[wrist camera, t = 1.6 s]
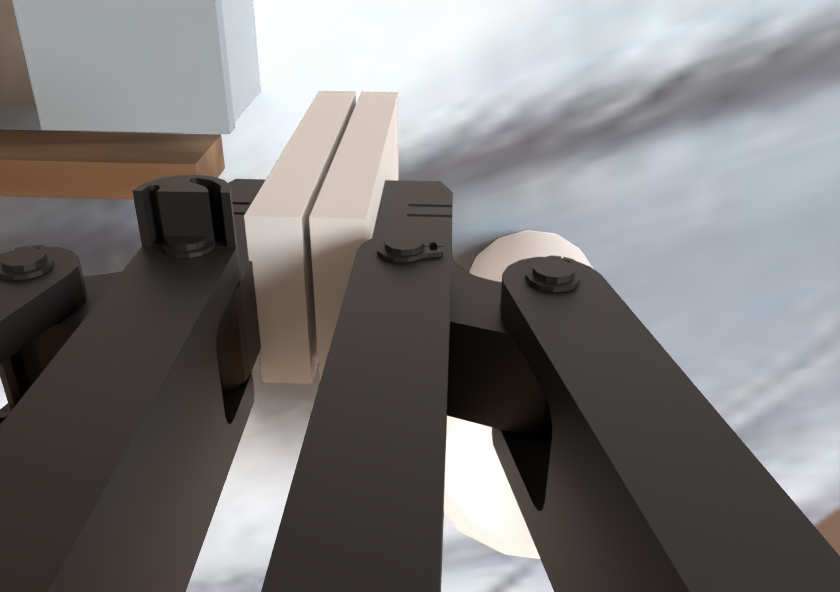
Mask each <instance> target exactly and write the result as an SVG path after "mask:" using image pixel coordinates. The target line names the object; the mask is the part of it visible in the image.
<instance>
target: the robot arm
mask: <svg viewBox="0 0 840 592" xmlns="http://www.w3.org/2000/svg"><path fill="white" fill-rule="evenodd" d="M132 192H133V197H134V203H135V208H136V214H137V220H138V225H139V231H140V236H141V242H142V247H141V248H140V250H139V251H138V252H137V253H136V255H135V256H134V257H133V259H132V260H131V261H130V262H129V264H128V265H127V266H126V267H125V269H124V270H123V271H122V272H117V273H109V274H101V275H93V276H85V277H83V274H82V269H81V265H80V260H79V257H78V256H77V255H76V254H75V253H74V252H73V251H70V250H67V249H63V248H60V247H44V246H43V245H33V246H31V248H29V246H25V247H19V248H16V249H15V250H14V251H11V252H7V253H3V254H0V377H1V381H2V384H3V387H4V391H5V394H6V397H7V400H8V404H6V405H5V406H4V407H3V408H2V409H0V592H186V589H187V586H188V583H189V581H190V578H191V575H192V572H193V570H194V567H195V564H196V561H197V558H198V556H199V553H200V550H201V547H202V545H203V542H204V539H205V536H206V533H207V531H208V528H209V525H210V522H211V519H212V517H213V514H214V511H215V508H216V506H217V503H218V500H219V497H220V494H221V492H222V489H223V486H224V483H225V481H226V478H227V475H228V472H229V469H230V467H231V464H232V461H233V458H234V456H235V453H236V450H237V447H238V444H239V442H240V439H241V436H242V433H243V431H244V428H245V425H246V422H247V419H248V417H249V414H250V411H251V408H252V406H253V403H254V386H253V377H252V369H253V366H254V364H255V361H256V359H257V356H258V354H259V359H260V369H261V378H262V383H288V384H312V382H313V378H314V375H315V371H316V367H317V364H318V363H319V378H320V384H319V387H318V391H317V395H316V398H315V402H314V405H313V409H312V412H311V416H310V419H309V423H308V427H307V430H306V434H305V437H304V441H303V444H302V448H301V452H300V455H299V459H298V462H297V466H296V469H295V473H294V476H293V480H292V484H291V487H290V491H289V494H288V498H287V501H286V505H285V509H284V512H283V516H282V519H281V523H280V526H279V530H278V534H277V537H276V541H275V544H274V548H273V551H272V555H271V558H270V562H269V566H268V569H267V573H266V576H265V580H264V583H263V587H262V591H261V592H441V575H442V547H443V518H444V489H445V460H446V434H447V416H450V417H454V418H458V419H462V420H466V421H469V422H473V423H477V424H481V425H485V426H489V427H492V441H493V446H494V449H495V451H496V453H497V456H498V458H499V460H500V463H501V465H502V468H503V470H504V472H505V475H506V477H507V480H508V482H509V484H510V487H511V489H512V492H513V494H514V496H515V499H516V501H517V504H518V506H519V508H520V511H521V513H522V516H523V518H524V520H525V523H526V525H527V528H528V530H529V532H530V535H531V537H532V540H533V542H534V544H535V547H536V549H537V551H538V554H539V556H540V559H541V561H542V563H543V566H544V568H545V571H546V573H547V575H548V578H549V580H550V583H551V585H552V587H553V590H554V592H840V556H839V555H838V554H837V553H836V551H835V550H834V549H833V548H832V547H831V546H830V544H829V543H828V542H827V541H826V540H825V538H824V537H823V536H822V535H821V534H820V533H819V531H818V530H817V529H816V528H815V527H814V525H813V524H812V523H811V522H810V521H809V519H808V518H807V517H806V516H805V515H804V514H803V512H802V511H801V510H800V509H799V508H798V506H797V505H796V504H795V503H794V502H793V501H792V499H791V498H790V497H789V496H788V495H787V493H786V492H785V491H784V490H783V489H782V488H781V486H780V485H779V484H778V483H777V482H776V480H775V479H774V478H773V477H772V476H771V475H770V473H769V472H768V471H767V470H766V469H765V468H764V466H763V465H762V464H761V463H760V462H759V460H758V459H757V458H756V457H755V456H754V455H753V453H752V452H751V451H750V450H749V449H748V447H747V446H746V445H745V444H744V443H743V442H742V440H741V439H740V438H739V437H738V436H737V434H736V433H735V432H734V431H733V430H732V429H731V427H730V426H729V425H728V424H727V423H726V422H725V420H724V419H723V418H722V417H721V416H720V414H719V413H718V412H717V411H716V410H715V409H714V407H713V406H712V405H711V404H710V403H709V401H708V400H707V399H706V398H705V397H704V396H703V394H702V393H701V392H700V391H699V390H698V388H697V387H696V386H695V385H694V384H693V383H692V381H691V380H690V379H689V378H688V377H687V375H686V374H685V373H684V372H683V371H682V370H681V368H680V367H679V366H678V365H677V364H676V363H675V361H674V360H673V359H672V358H671V357H670V355H669V354H668V353H667V352H666V351H665V350H664V348H663V347H662V346H661V345H660V344H659V342H658V341H657V340H656V339H655V338H654V337H653V335H652V334H651V333H650V332H649V331H648V329H647V328H646V327H645V326H644V325H643V324H642V322H641V321H640V320H639V319H638V318H637V317H636V315H635V314H634V313H633V312H632V311H631V309H630V308H629V307H628V306H627V305H626V304H625V302H624V301H623V300H622V299H621V298H620V296H619V295H618V294H617V293H616V292H615V291H614V289H613V288H612V287H611V286H610V285H609V283H608V282H607V281H606V280H605V279H604V278H603V276H602V275H601V274H599V273H598V272H597V271H595V270H594V269H593V268H592V267H590V266H588V265H585V264H582V263H580V262H577V261H575V260H574V259H571V258H567V257H563V258H561V256H553V255H551V256H547V257H533V258H527V259H522V260H519V261H517V262H515V263H513V264H511V265H509V266H508V267H507V268H506V269H505V271H504V272H503V273H502V282H498V281H493V280H489V279H485V278H481V277H478V276H475V275H473V274H470V273H468V272H466V271H465V270H463V269H462V268H460V267H459V266H458V265H457V264H456V263H455V262H454V261H453V257H452V195H453V193H452V192H451V191H450V190H449V189H448V188H447V187H446V186H445V185H444V184H443V183H442V182H441V181H398V93H396V92H361V94H360V96H359V99H358V101H357V104H356V92H344V91H319V92H318V94H317V95H316V97H315V99H314V100H313V102H312V104H311V105H310V107H309V109H308V110H307V112H306V114H305V115H304V117H303V119H302V120H301V122H300V124H299V125H298V127H297V129H296V130H295V132H294V134H293V135H292V137H291V139H290V140H289V142H288V144H287V145H286V147H285V149H284V150H283V152H282V154H281V155H280V157H279V159H278V160H277V162H276V164H275V165H274V167H273V169H272V170H271V172H270V174H269V175H268V177H267V179H266V180H257V179H235V180H233V181H231V182H229V183H227V182H226V181H225V180H222V179H219V178H216V177H213V176H204V175H176V176H170V177H165V178H159V179H156V180H153V181H150V182H147V183H144V184H142V185H140V186H139V187H137V188H136V189H134V190H133V191H132Z"/></svg>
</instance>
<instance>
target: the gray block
mask: <svg viewBox="0 0 840 592" xmlns="http://www.w3.org/2000/svg"><path fill="white" fill-rule="evenodd" d="M12 3H13V7H14V11H15V16H16V20H17V25H18V29H19V33H20V38H21V42H22V46H23V51H24V55H25V60H26V64H27V68H28V73H29V77H30V81H31V86H32V90H33V95H34V99H35V103H36V108H37V112H38V116H39V121H40V125H41V130H66V131H113V132H160V133H207V134H230V133H231V132H232V131H233V130H234V128H235V123H234V122H235V121H236V120H237V119H238V118H239V116H240V115H241V114H242V113H243V112H244V111H245V109H246V108H247V107H248V106H249V105H250V103H251V102H252V101H253V100H254V99H255V98H256V96H257V95H258V94H259V93H260V92H261V87H260V75H259V64H258V53H257V41H256V30H255V19H254V8H253V0H12Z"/></svg>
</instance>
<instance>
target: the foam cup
mask: <svg viewBox="0 0 840 592" xmlns="http://www.w3.org/2000/svg"><path fill="white" fill-rule="evenodd" d="M551 255H553V256H561V258H563V257H567V258H571V259H574V260H575V261H577V262H580V263H582V264H585V265H588V266H590V267H592V266H591V264H590V263H589V261H588V260H587V258H586V257H585V255H584V254H583V253H582V252H581V250H580V249H579V248H578V247H576V246H575V245H573V244H571V243H570V242H568V241H567V240H565V239H564V238H562V237H561V236H559V235H557V234H555V233H547V232H540V231H532V230H524V231H521V232H517V233H514V234H510V235H507V236H503V237H499V238H497V239H496V240H495V241H494V242H493V243H491V244H490V245H489V246H488V247H486V248H485V249H484V250H483V251H482V252H480V253H479V254H478V255H477V256H476V258H475V260H474V262H473V264H472V266H471V269H470V271H469V273H470V274H473V275H475V276H478V277H481V278H485V279H489V280H493V281H498V282H502V273H503V272H504V271H505V269H506V268H507V267H508V266H509V265H511V264H513V263H515V262H517V261H519V260H522V259H527V258H533V257H547V256H551ZM592 268H593V267H592ZM444 513H445V514H446V515H447V516H448V518H449V519H450V520H451V522H452V523H453V524H454V525H455V527H456V528H457V529H458V531H460V532H462V533H464V534H466V535H468V536H470V537H472V538H474V539H476V540H478V541H480V542H482V543H484V544H485V545H487V546H489V547H491V548H493V549H495V550H497V551H499V552H501V553H503V554H505V555H513V556H521V557H529V558H538V559H540V556H539V554H538V551H537V549H536V547H535V544H534V542H533V540H532V537H531V535H530V532H529V530H528V528H527V525H526V523H525V520H524V518H523V516H522V513H521V511H520V508H519V506H518V504H517V501H516V499H515V496H514V494H513V492H512V489H511V487H510V484H509V482H508V480H507V477H506V475H505V472H504V470H503V468H502V465H501V463H500V460H499V458H498V456H497V453H496V451H495V449H494V446H493V441H492V427H489V426H485V425H481V424H477V423H473V422H469V421H466V420H462V419H458V418H454V417H450V416H447V434H446V460H445V489H444Z"/></svg>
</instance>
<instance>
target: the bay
mask: <svg viewBox="0 0 840 592" xmlns="http://www.w3.org/2000/svg"><path fill="white" fill-rule="evenodd" d="M224 169H225V165H224V157H223V148H222V140H221V135H215V134H168V133H120V132H73V131H26V130H0V196H19V197H60V198H102V199H134V197H133V192H132V191H133V190H134V189H136V188H137V187H139V186H140V185H142V184H144V183H147V182H150V181H153V180H156V179H159V178H165V177H170V176H176V175H204V176H213V177H216V178H218V177H219V175H220V174H221V173H222V171H223V170H224Z"/></svg>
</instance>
